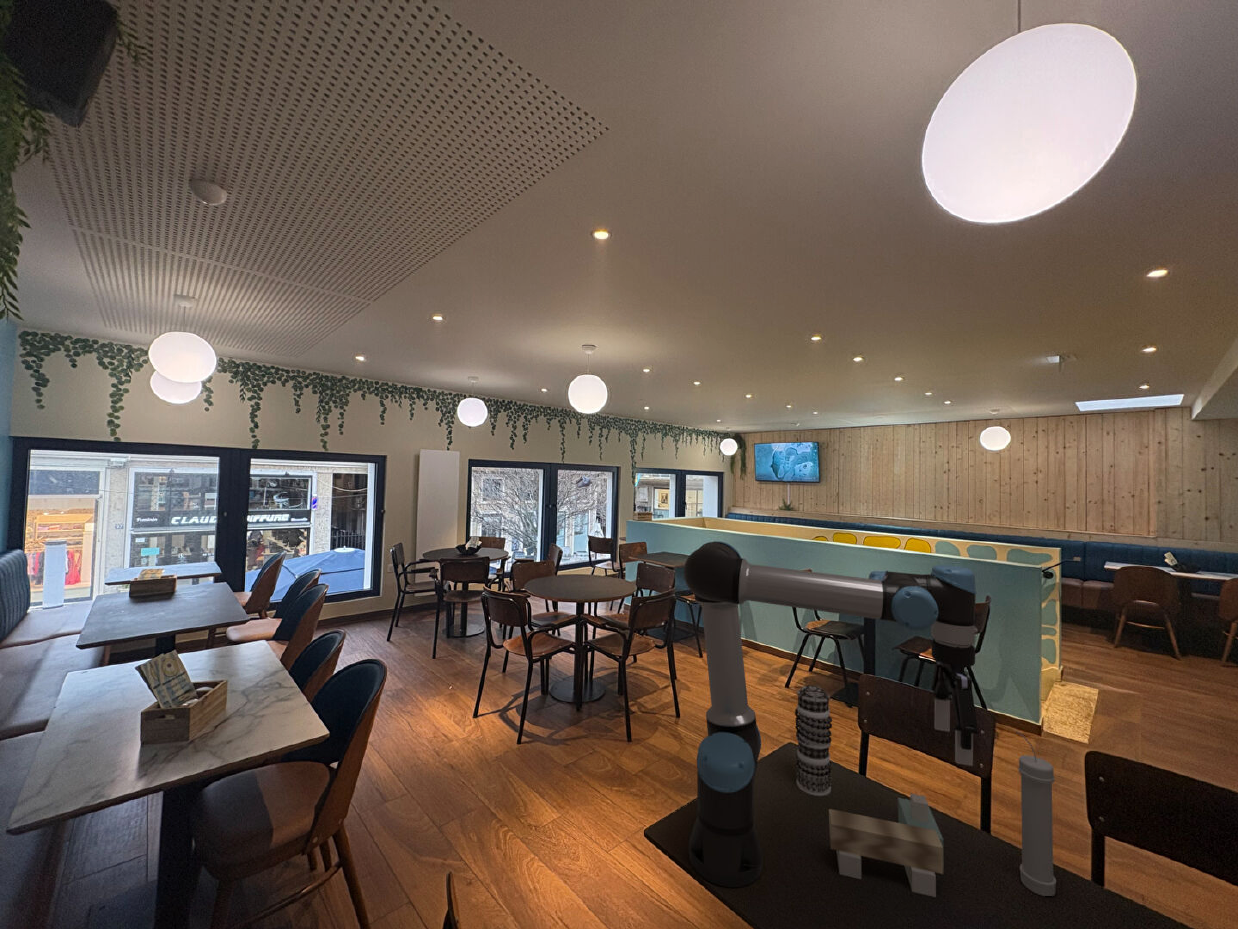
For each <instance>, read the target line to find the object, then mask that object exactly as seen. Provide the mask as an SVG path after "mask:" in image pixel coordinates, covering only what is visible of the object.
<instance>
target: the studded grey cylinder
mask: <svg viewBox="0 0 1238 929" xmlns="http://www.w3.org/2000/svg"><path fill="white" fill-rule="evenodd" d="M796 694H797V706H796V707H795V710H794V716H795V727H794V728H795V729H796V732H795V736H796V737H795V738H796V740H797V746H798V747H797V753H796V756H795V758H796V762H795V764H796V769H795V773H796V776H795V778H796V782H795V783H796V785H797V787H798V788H799V789H800V790H801V791H802V792H803V793H806V794H808V795H811V796H816V797H824V796H828V795H829V794H830V793H831V790H832V787H831V786H832V785H831V784H832V781H831V780H832V774H831V771H832V768H831V766H832V761H831V758H830V757H831V756H830V753H829V752H830V747H831V742H832V740H833V738H832V737H831V736H832V731H831V729H832V728H833V724H832V721H833V719H832V716H831V715H830V710H831V708H830V707H829V704H830V702H829V701H830V699H831V696H830V695H829V694H828V693H827V691H825V689H823V688H822V687H820V686H818V685H813V684H808V685H807V684H806V685H804V686H802V687H801V688H800V689H799V690H797V691H796Z"/></svg>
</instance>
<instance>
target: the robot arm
mask: <svg viewBox="0 0 1238 929" xmlns="http://www.w3.org/2000/svg"><path fill="white" fill-rule="evenodd" d="M868 575H869V576H868V578H865V577H859V576H858V577H857V576H849V575H839V574H833V573H823V572H818V571H817V572H815V571H810V570H802V569H793V568H792V569H791V568H785V567H776V566H767V565H759V564H753V563H752V564H751V563H749V562H748V560H747V559H746V558H742V557H741V555H740V553H739V551H738V550H737V549H736V548H735V547H734V546H733V545H731V544H729V543H728V542H724V541H719V540H718V541H717V540H716V541H715V540H714V541H710V542H706V543H704V544H702V545H701V546H699V548H698V549H696V550H694V551H693V552H691V553H690V555H689V556H688V557H687V559H686V561H685V563H684V566H683V578H684V581H685V584H686V585H687V587H688V589H689V590H690V591H691V592H692V593H693V595H694V600H695V602H696V603H697V604H698V605H700V607H701V609H702V610H701V612H702V619H703V621H702V622H703V629H704V630H703V633H704V641H705V650H706V652H705V653H706V661H707V672H708V683H709V694H710V704H711V706H710V707H709V708H708V709H707V711H706V713H705V720H706V730H707V736H705V737H704V738H703V739H702V740H701V742H700V744H699V746H698V748H697V754H696V768H697V770H696V771H697V772H696V773H697V778H696V779H697V780H696V781H697V785H696V786H697V794H696V795H697V798H696V799H697V800H696V801H697V804H696V805H697V807H696V808H697V811H696V812H697V815H696V820H695V822H694V824H693V828H692V830H691V834H690V836H689V837H690V838H689V842H688V858H689V861H690V864H691V865H692V868H693V869H694V870H695V872H696V873H697V874H698V875H700V876H701V877H702V878H703V879H705V880H706V881H708V882H710V883H712V884H714V885H717V886H720V887H726V888H742V887H746V886H748V885H750V884H753V883H754V882H755V881H757V879H758V878H759V877H760V875H761V873H762V872H763V871H762V870H763V851H762V848H761V845H760V842H759V838H758V835H757V832H756V828H755V824H754V815H755V814H754V810H755V809H754V806H755V805H754V803H755V802H754V798H755V797H754V796H755V795H754V794H755V793H754V789H755V780H756V776H757V768H758V762H759V756H760V753H761V749H762V738H761V737H762V736H761V733H760V730H759V727H758V725H757V716H756V712H755V710H754V709H753V708H752V707H751V706H749V702H748V700H749V699H748V692H747V684H746V675H745V674H746V673H745V662H744V652H743V641H742V634H741V633H742V632H741V624H740V612H739V605H742V604H744V603H745V602H746V601H749V602H756V603H761V604H762V603H764V604H769V605H776V606H777V605H778V606H784V607H791V608H797V609H802V610H803V609H805V610H811V611H812V610H813V611H819V612H826V613H830V614H831V613H833V614H838V615H839V614H840V615H845V616H854V617H860V618H867V619H873V620H874V619H875V620H882V621H885V622H893V623H898V624H899V625H901V626H903V627H904V628H907V629H909V630H912V631H922V630H923V631H924V630H927V629H928V628H930V630H931V631H930V633H931V634H930V635H931V637H932V638H933V639H932V640H931V657H932V658H933V659H934V660H935V665H934V666H935V667H934V671H933V677H932V682H931V687H930V688H931V691H933V696H934V722H933V723H934V729H935V730H936V731H937V730H938V731H942V732H948V733H949V732H950V728H951V727H950V726H951V723H950V722H951V721H950V720H951V714H950V713H951V703H950V702H951V701H952V707H953V711H954V716H955V721H956V725H954V726H953V731H954V732H955V737H954V738H955V739H954V740H955V742H954V755H955V756H954V762H955V763H956V764H958V765H959V764H960V765H965V766H970V767H971V766H972V767H973V766H974V735H978V734H979V729H978V722H977V715H976V714H977V713H976V709H975V708H976V707H975V702H974V693H973V679H972V678H971V677H970V676H967V673H966V671H965V668H968V667H973V666H975V664H976V647H974V644H975V643H976V634H977V633H978V631H979V630H978V628H977V627H976V598H977V589H976V579H975V578H976V577H975V573H974V572H973V571H972V570H971V569H969V568H968V567H963V566H956V565H948V564H944V565H941V564H937V565H933V566H932V568H931V572H930V573H929V574H928V573H926V574H918V573H910V572H909V573H908V572H897V571H889V570H883V571H882V570H873V571H871V572H870V573H869V574H868ZM950 700H951V701H950Z"/></svg>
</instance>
